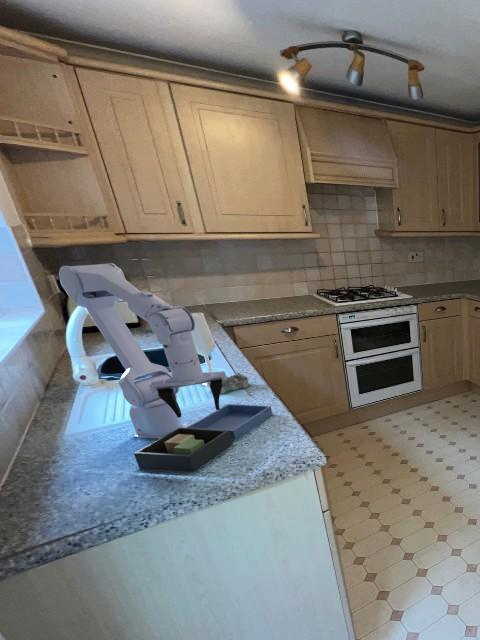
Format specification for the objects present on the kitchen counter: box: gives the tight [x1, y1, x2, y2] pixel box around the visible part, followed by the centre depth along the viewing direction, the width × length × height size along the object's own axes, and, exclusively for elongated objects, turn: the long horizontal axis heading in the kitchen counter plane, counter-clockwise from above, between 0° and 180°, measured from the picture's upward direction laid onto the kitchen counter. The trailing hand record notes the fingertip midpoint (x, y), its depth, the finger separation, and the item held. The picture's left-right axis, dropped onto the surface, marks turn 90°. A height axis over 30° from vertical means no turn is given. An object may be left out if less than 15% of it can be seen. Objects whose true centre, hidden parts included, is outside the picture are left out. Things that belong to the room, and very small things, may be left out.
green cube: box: [174, 439, 205, 455], centre depth 95 cm, size 4×4×4 cm
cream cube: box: [164, 434, 195, 454], centre depth 97 cm, size 4×4×4 cm
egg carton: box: [207, 372, 250, 394], centre depth 135 cm, size 11×8×4 cm
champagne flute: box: [190, 312, 216, 387], centre depth 137 cm, size 7×7×24 cm
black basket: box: [133, 428, 234, 473], centre depth 96 cm, size 13×12×4 cm
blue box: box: [187, 403, 273, 441], centre depth 111 cm, size 13×15×3 cm
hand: (199, 412), depth 100 cm, fingers open, 7 cm apart
